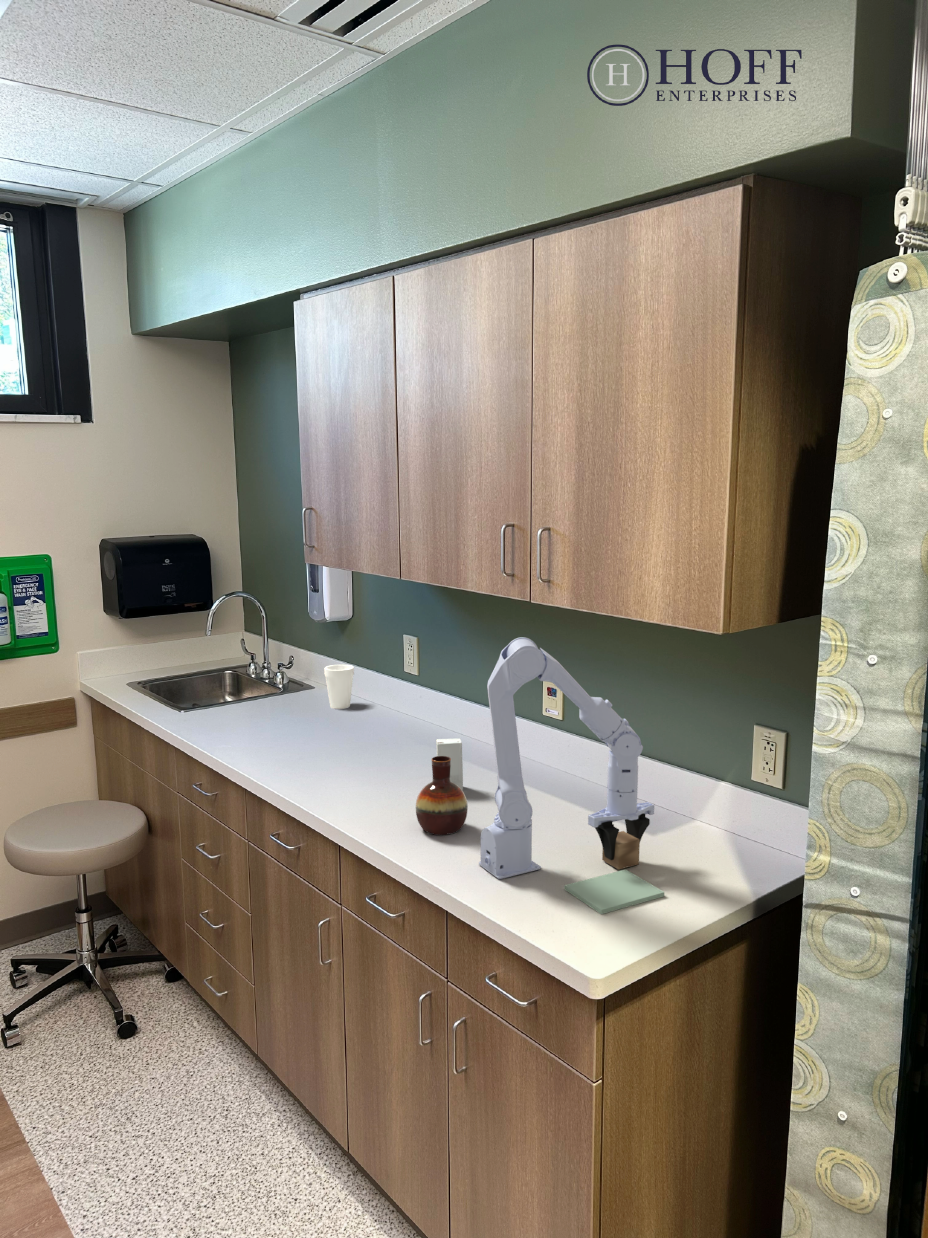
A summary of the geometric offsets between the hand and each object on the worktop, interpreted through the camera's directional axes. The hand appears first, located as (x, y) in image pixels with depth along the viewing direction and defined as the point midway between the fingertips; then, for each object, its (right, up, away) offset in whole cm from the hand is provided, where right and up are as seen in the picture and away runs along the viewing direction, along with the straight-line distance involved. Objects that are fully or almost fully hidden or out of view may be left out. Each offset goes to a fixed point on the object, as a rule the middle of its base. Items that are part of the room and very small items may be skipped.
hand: (620, 855), depth 179 cm
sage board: (-3, -4, -12) cm, 13 cm away
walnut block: (0, -1, 0) cm, 1 cm away
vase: (-35, +1, +18) cm, 40 cm away
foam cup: (-71, +17, +122) cm, 142 cm away
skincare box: (-34, +5, +43) cm, 55 cm away
